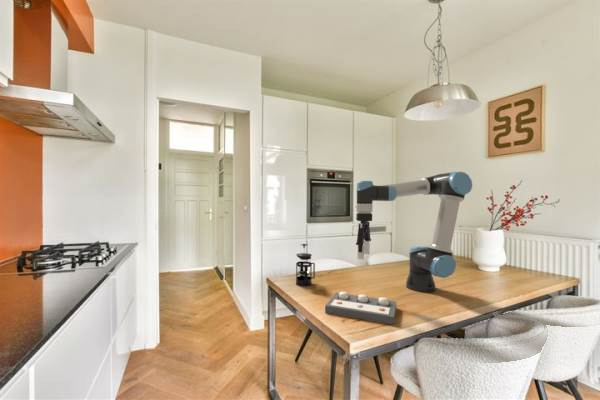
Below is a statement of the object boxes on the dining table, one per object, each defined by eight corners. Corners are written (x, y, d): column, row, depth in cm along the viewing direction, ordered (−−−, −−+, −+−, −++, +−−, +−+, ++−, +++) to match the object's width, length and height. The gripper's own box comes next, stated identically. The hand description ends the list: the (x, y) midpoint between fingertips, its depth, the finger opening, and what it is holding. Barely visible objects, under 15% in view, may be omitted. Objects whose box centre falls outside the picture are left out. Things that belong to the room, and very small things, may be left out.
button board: (396, 307, 122) (396, 300, 122) (393, 324, 106) (393, 315, 106) (336, 298, 133) (336, 291, 133) (325, 312, 117) (325, 304, 117)
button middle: (368, 302, 124) (368, 295, 124) (367, 305, 120) (367, 298, 120) (359, 300, 126) (359, 293, 126) (357, 303, 122) (357, 296, 122)
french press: (296, 287, 151) (297, 245, 151) (292, 282, 160) (293, 243, 160) (316, 285, 154) (317, 245, 154) (311, 280, 163) (312, 242, 163)
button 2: (389, 305, 121) (389, 298, 121) (388, 308, 117) (388, 301, 117) (379, 303, 123) (379, 296, 123) (377, 307, 119) (378, 299, 119)
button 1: (349, 299, 128) (349, 292, 128) (347, 302, 124) (347, 295, 124) (340, 297, 130) (340, 291, 130) (337, 300, 125) (337, 294, 125)
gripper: (362, 211, 144) (361, 251, 144) (350, 213, 122) (349, 260, 122) (376, 212, 141) (376, 252, 141) (367, 214, 119) (366, 262, 119)
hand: (363, 256), depth 131 cm, fingers open, 13 cm apart
